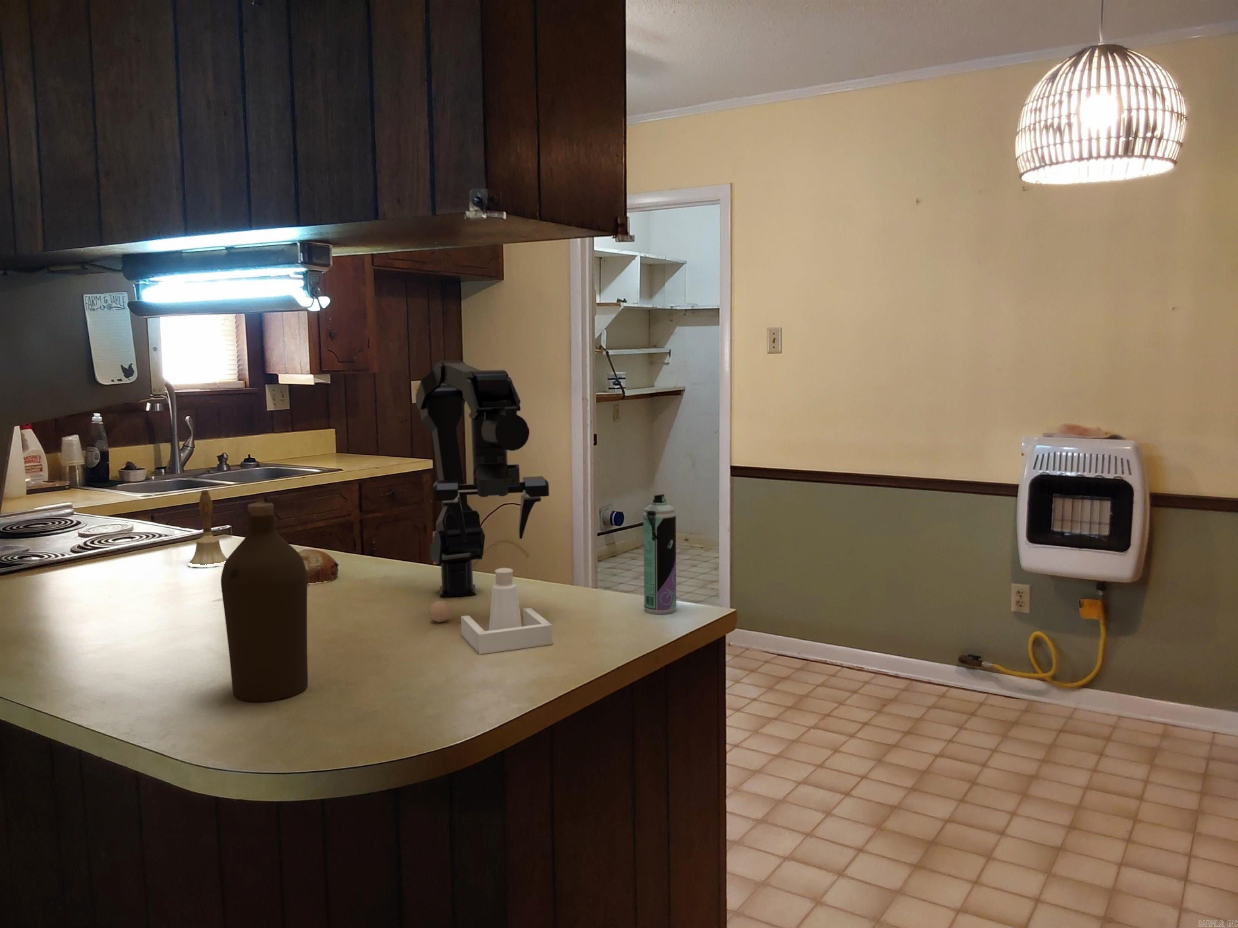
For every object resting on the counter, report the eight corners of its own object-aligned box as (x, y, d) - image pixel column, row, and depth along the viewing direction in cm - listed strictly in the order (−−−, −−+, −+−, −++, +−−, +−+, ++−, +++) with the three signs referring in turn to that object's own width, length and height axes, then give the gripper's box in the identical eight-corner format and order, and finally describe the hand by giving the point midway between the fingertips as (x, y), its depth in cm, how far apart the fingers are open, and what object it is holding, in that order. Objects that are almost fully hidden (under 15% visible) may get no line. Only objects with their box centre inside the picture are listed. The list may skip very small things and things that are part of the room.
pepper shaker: (490, 634, 152) (488, 565, 150) (524, 633, 152) (523, 565, 150) (486, 644, 146) (484, 573, 145) (521, 643, 146) (519, 573, 145)
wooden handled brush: (238, 561, 207) (234, 488, 205) (207, 569, 200) (202, 494, 198) (210, 558, 211) (205, 486, 209) (178, 566, 203) (173, 492, 201)
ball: (430, 619, 160) (429, 598, 160) (451, 618, 161) (450, 597, 161) (429, 625, 157) (429, 604, 157) (451, 623, 158) (450, 603, 157)
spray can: (673, 614, 161) (673, 497, 159) (641, 613, 162) (640, 496, 160) (678, 606, 167) (677, 492, 164) (647, 605, 168) (646, 491, 165)
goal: (461, 634, 151) (461, 616, 151) (530, 625, 156) (530, 607, 155) (479, 654, 142) (478, 634, 141) (552, 644, 146) (552, 624, 146)
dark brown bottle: (302, 702, 123) (291, 509, 120) (216, 706, 122) (204, 511, 119) (320, 674, 133) (311, 497, 130) (242, 677, 133) (231, 498, 130)
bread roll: (293, 593, 194) (273, 560, 191) (339, 567, 197) (320, 534, 195) (298, 605, 185) (277, 570, 182) (346, 577, 188) (326, 543, 186)
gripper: (431, 453, 149) (435, 552, 150) (551, 448, 152) (554, 545, 154) (432, 447, 160) (436, 539, 161) (544, 443, 163) (546, 533, 165)
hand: (492, 539), depth 160 cm, fingers open, 9 cm apart
